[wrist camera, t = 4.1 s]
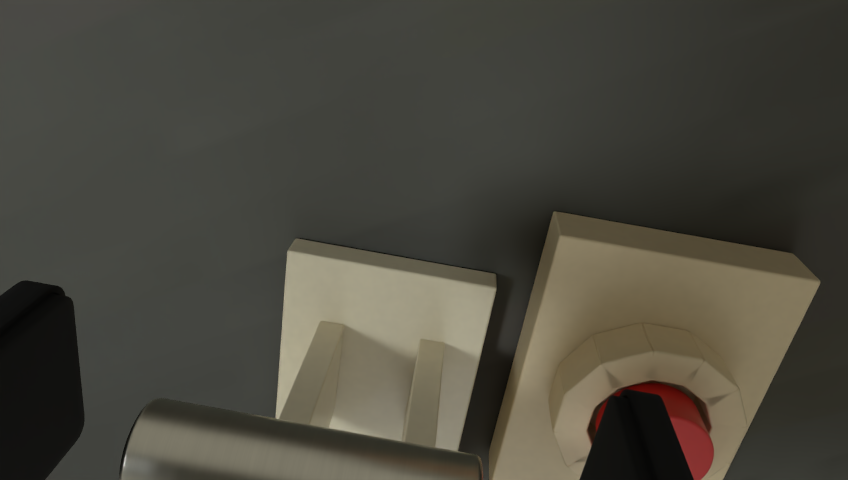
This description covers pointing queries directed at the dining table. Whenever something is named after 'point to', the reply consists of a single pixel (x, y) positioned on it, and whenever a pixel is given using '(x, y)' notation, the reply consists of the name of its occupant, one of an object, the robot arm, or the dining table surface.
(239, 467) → the switch lever
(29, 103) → the dining table surface
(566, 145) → the dining table surface
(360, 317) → the switch bracket
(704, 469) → the button
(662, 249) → the control box
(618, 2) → the dining table surface
